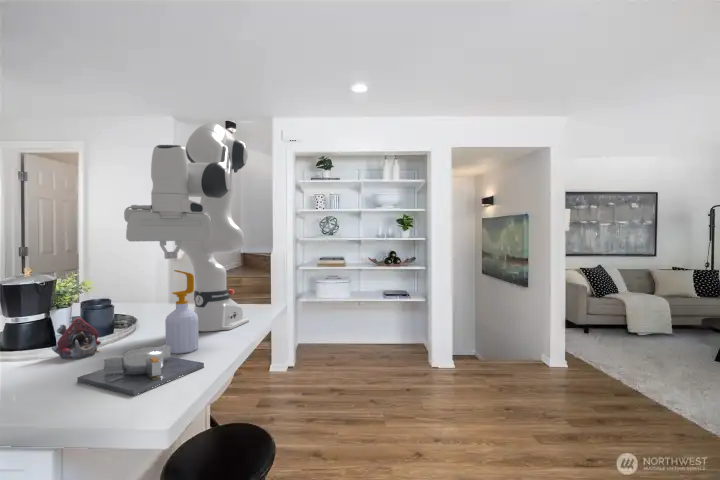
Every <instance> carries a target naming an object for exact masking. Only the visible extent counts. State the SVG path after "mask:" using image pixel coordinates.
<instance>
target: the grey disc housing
mask: <svg viewBox="0 0 720 480" xmlns="http://www.w3.org/2000/svg"><path fill="white" fill-rule="evenodd" d="M171 355H172V354H171V353H170V345H166V344H162V345H160V346H157V347H156V346H152V347H149V346H148V347H139V348H135V349H131V350H129V351H126V352H124V353H123V354H122V355H114V356H113V355H112V356H106V357H105V358H103V369H104V372H113V371H123V372H124V373H125V374H132V375H136V374H145V373H147V374H149V375H150V376H152V377H153V376H157V375H161V368H162V367H163V366H164V360H165V359H167V358H169V357H172V356H171Z"/></svg>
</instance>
